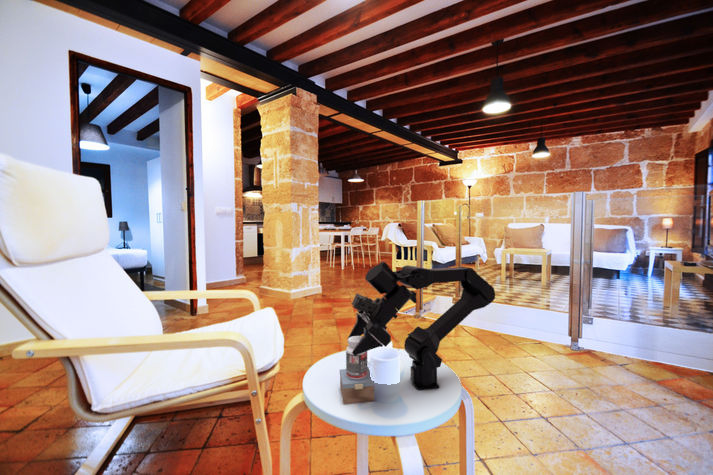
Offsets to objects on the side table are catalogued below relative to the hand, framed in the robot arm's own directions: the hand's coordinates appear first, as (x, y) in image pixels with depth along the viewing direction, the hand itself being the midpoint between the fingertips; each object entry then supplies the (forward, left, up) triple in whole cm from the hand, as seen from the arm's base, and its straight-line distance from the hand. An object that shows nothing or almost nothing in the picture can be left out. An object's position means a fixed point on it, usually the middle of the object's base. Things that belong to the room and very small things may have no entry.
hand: (350, 346), depth 81 cm
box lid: (-1, 0, -9) cm, 9 cm away
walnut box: (-1, 0, -13) cm, 13 cm away
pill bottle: (-2, 0, -8) cm, 8 cm away
